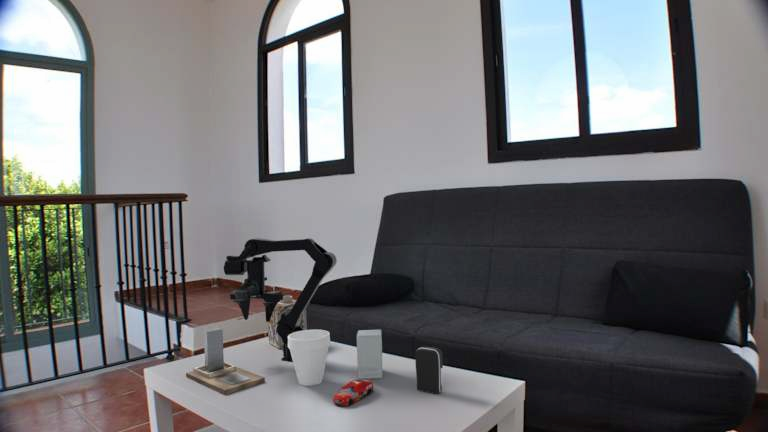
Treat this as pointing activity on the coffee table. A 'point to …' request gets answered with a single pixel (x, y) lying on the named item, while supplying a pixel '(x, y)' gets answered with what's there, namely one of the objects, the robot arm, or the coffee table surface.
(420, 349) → the battery charger
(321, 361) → the cup
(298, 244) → the robot arm
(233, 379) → the wooden board
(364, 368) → the supplement box
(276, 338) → the decorative jar
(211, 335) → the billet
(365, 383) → the race car
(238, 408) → the coffee table surface
